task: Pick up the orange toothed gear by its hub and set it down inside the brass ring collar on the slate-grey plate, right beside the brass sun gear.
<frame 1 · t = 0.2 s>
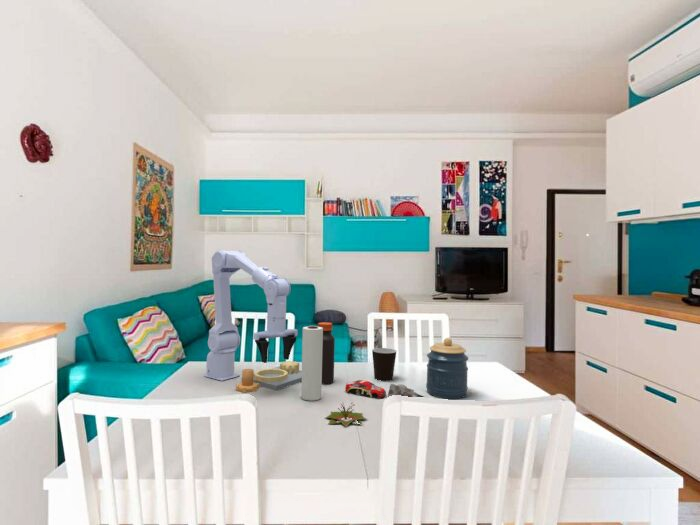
hand: (275, 360, 133), 10 cm above the table, tool pointing down, fingers open, 7 cm apart
carrier plate: (278, 379, 147), on the table
lily flower: (346, 421, 112), on the table
race car: (365, 395, 133), on the table
paper towel roll: (312, 398, 129), on the table
canister: (446, 393, 136), on the table
camouflage cap: (407, 408, 122), on the table
bottle: (323, 382, 145), on the table
coffee mug: (385, 378, 152), on the table
planet gear: (247, 389, 135), on the table
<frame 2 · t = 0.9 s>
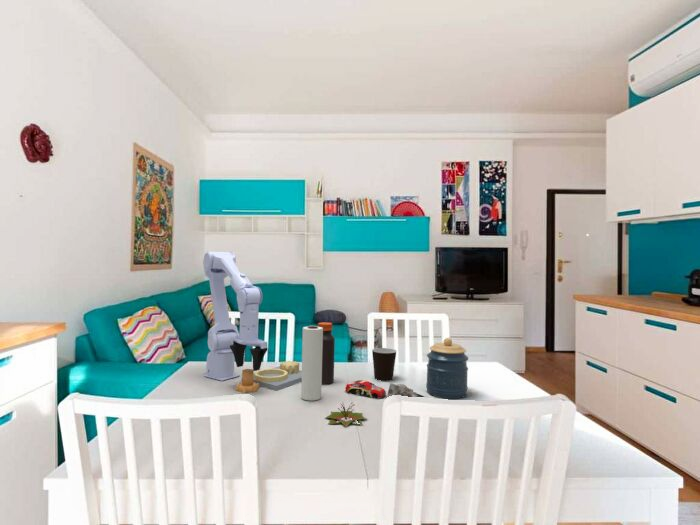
hand: (248, 368, 135), 7 cm above the table, tool pointing down, fingers open, 7 cm apart
nothing on the table moved.
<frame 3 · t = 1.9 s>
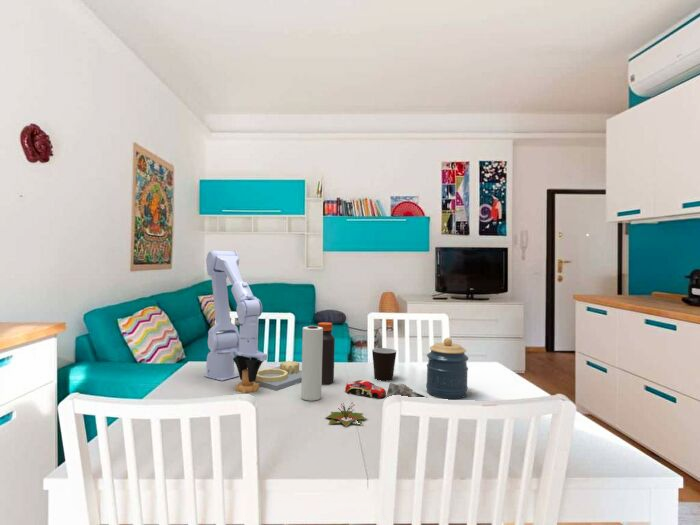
hand: (247, 380, 135), 3 cm above the table, tool pointing down, fingers closed on planet gear, 3 cm apart
planet gear: (247, 389, 135), on the table, touching gripper
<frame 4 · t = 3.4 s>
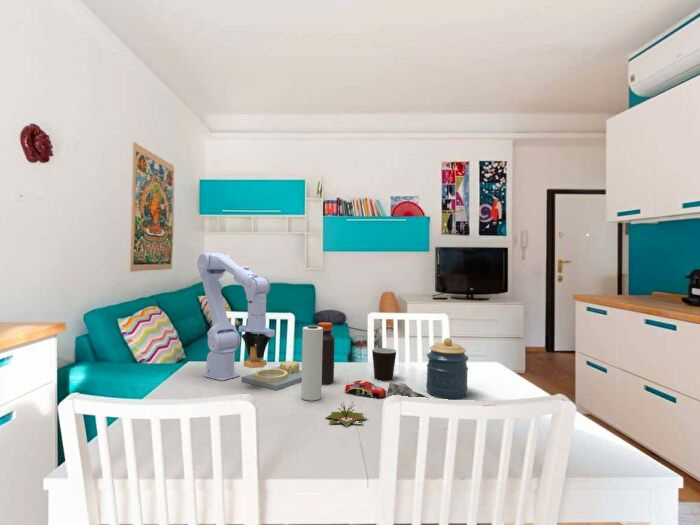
hand: (255, 356, 138), 10 cm above the table, tool pointing down, fingers closed on planet gear, 3 cm apart
planet gear: (255, 365, 138), point 7 cm above the table, touching gripper
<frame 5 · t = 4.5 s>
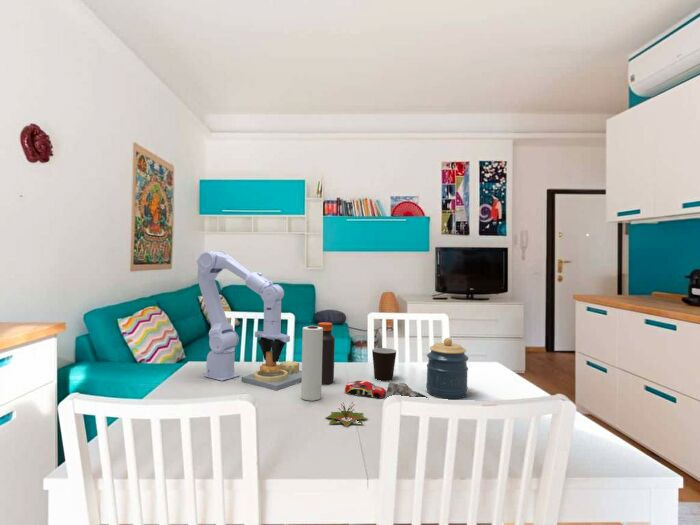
hand: (271, 360, 144), 7 cm above the table, tool pointing down, fingers closed on planet gear, 3 cm apart
planet gear: (270, 369, 143), point 4 cm above the table, touching gripper
when the fingers open (5 cm above the table, at t = 5.3 s): planet gear stays where it is, resting on carrier plate.
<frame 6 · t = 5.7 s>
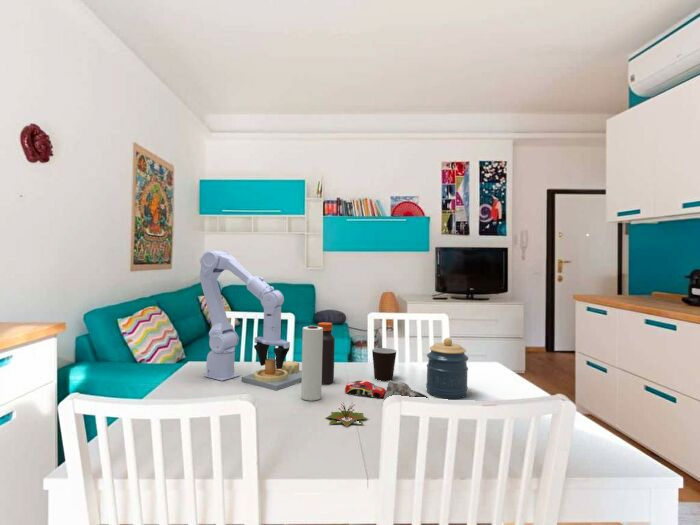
hand: (271, 366, 144), 5 cm above the table, tool pointing down, fingers open, 7 cm apart
planet gear: (270, 377, 143), point 1 cm above the table, touching carrier plate
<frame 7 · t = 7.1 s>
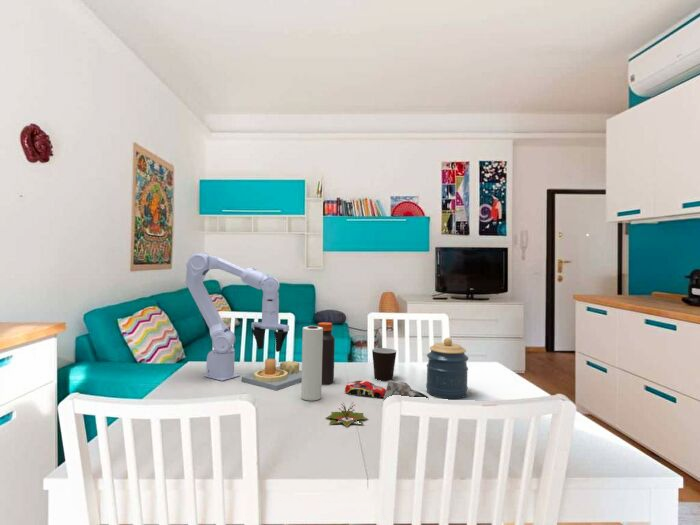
hand: (269, 350, 150), 9 cm above the table, tool pointing down, fingers open, 7 cm apart
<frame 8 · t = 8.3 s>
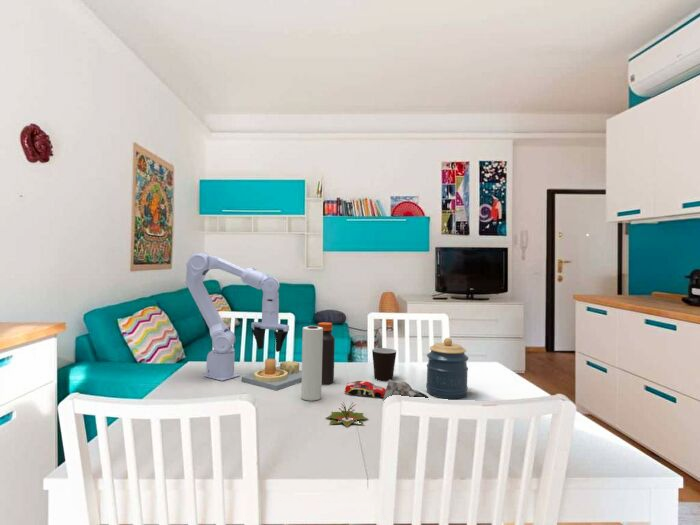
hand: (269, 350, 150), 9 cm above the table, tool pointing down, fingers open, 7 cm apart
at the end: planet gear 0.4 cm from the target spot on the carrier plate, point 1.5 cm above the carrier plate's base; planet gear tilted 0°; the gripper is holding nothing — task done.
